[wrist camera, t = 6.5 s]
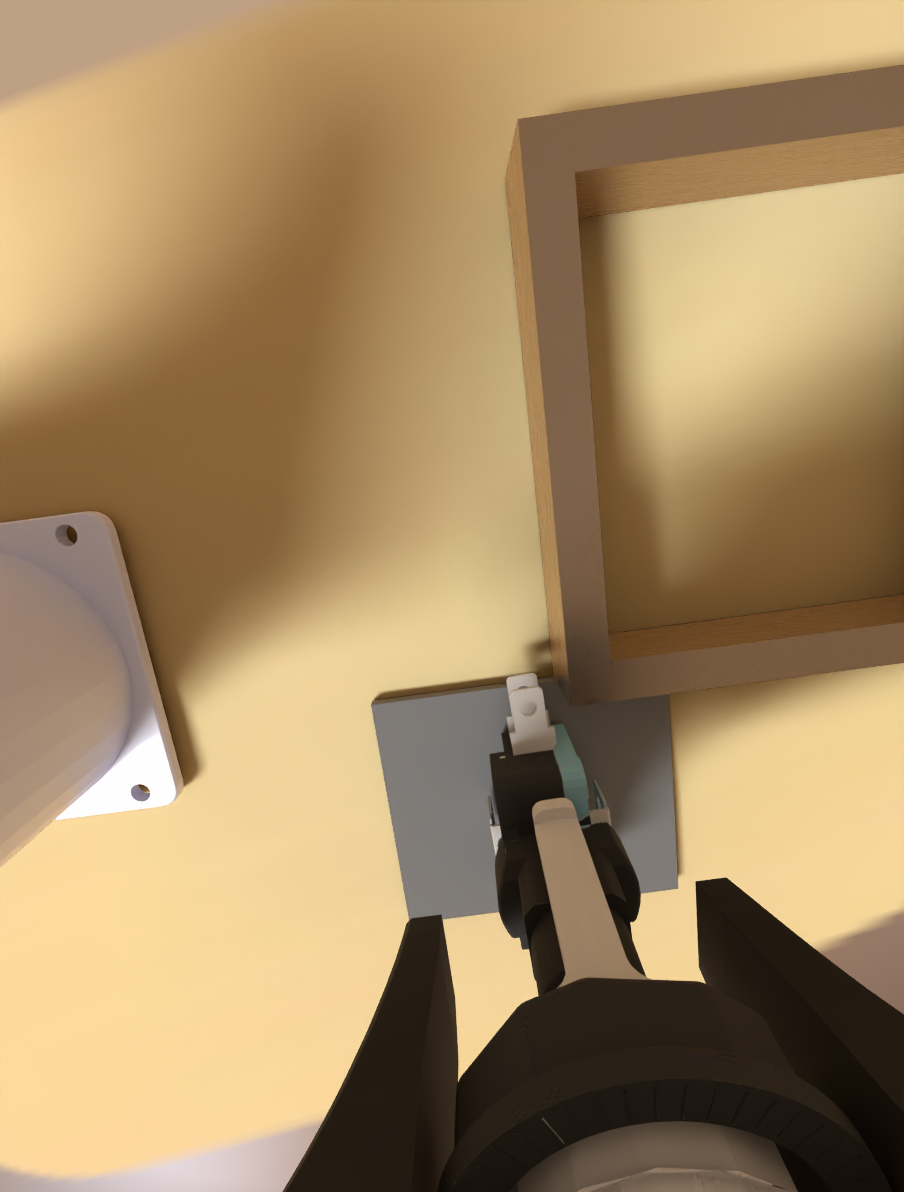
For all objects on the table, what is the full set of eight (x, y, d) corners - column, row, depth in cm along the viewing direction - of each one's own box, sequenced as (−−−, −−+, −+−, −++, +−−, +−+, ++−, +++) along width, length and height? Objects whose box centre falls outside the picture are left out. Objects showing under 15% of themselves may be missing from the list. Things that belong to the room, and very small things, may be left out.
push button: (422, 682, 14) (345, 1131, 4) (622, 650, 14) (1005, 1051, 4) (464, 892, 16) (476, 1585, 6) (646, 866, 15) (976, 1545, 6)
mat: (410, 915, 16) (410, 923, 16) (372, 700, 15) (371, 705, 14) (674, 881, 16) (678, 888, 16) (662, 661, 15) (667, 665, 14)
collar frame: (553, 676, 15) (571, 706, 13) (505, 178, 12) (517, 119, 10) (955, 622, 14) (1035, 645, 12) (992, 109, 12) (1100, 37, 10)
